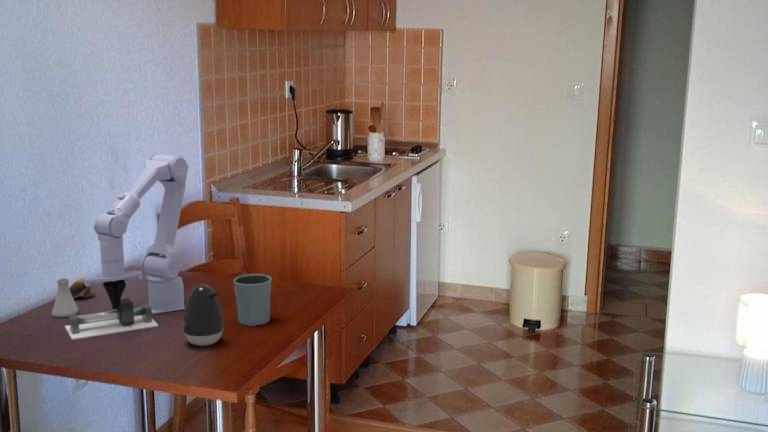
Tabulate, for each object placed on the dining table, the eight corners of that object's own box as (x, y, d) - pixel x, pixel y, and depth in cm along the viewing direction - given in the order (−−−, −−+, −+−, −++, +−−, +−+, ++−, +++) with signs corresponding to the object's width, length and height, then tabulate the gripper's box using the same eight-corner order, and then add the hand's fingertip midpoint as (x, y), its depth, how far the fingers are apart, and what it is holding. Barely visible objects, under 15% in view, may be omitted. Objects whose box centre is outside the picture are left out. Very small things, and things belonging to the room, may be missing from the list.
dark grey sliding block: (129, 318, 227) (128, 297, 226) (134, 323, 223) (133, 303, 221) (118, 319, 226) (117, 299, 224) (122, 325, 221) (121, 304, 220)
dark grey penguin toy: (205, 352, 205) (203, 293, 202) (174, 344, 210) (172, 286, 207) (233, 340, 213) (231, 283, 210) (203, 333, 218) (201, 277, 215)
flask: (69, 319, 228) (67, 284, 226) (45, 317, 230) (43, 282, 228) (84, 311, 235) (82, 277, 233) (61, 309, 237) (58, 275, 235)
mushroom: (104, 286, 248) (90, 270, 247) (84, 302, 242) (70, 285, 241) (94, 293, 253) (81, 277, 252) (74, 309, 248) (60, 293, 247)
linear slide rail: (148, 318, 229) (147, 303, 228) (152, 323, 225) (151, 307, 224) (70, 330, 219) (68, 314, 218) (73, 335, 215) (71, 319, 215)
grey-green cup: (279, 320, 229) (278, 278, 226) (250, 329, 221) (249, 286, 219) (256, 312, 235) (255, 271, 233) (227, 320, 228) (225, 278, 226)
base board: (147, 314, 232) (147, 313, 232) (158, 326, 223) (158, 324, 223) (64, 327, 222) (64, 325, 222) (72, 340, 212) (71, 338, 212)
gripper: (136, 252, 226) (138, 300, 229) (80, 258, 219) (83, 308, 222) (143, 258, 220) (145, 307, 223) (86, 265, 213) (89, 315, 216)
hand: (115, 308), depth 222 cm, fingers closed
